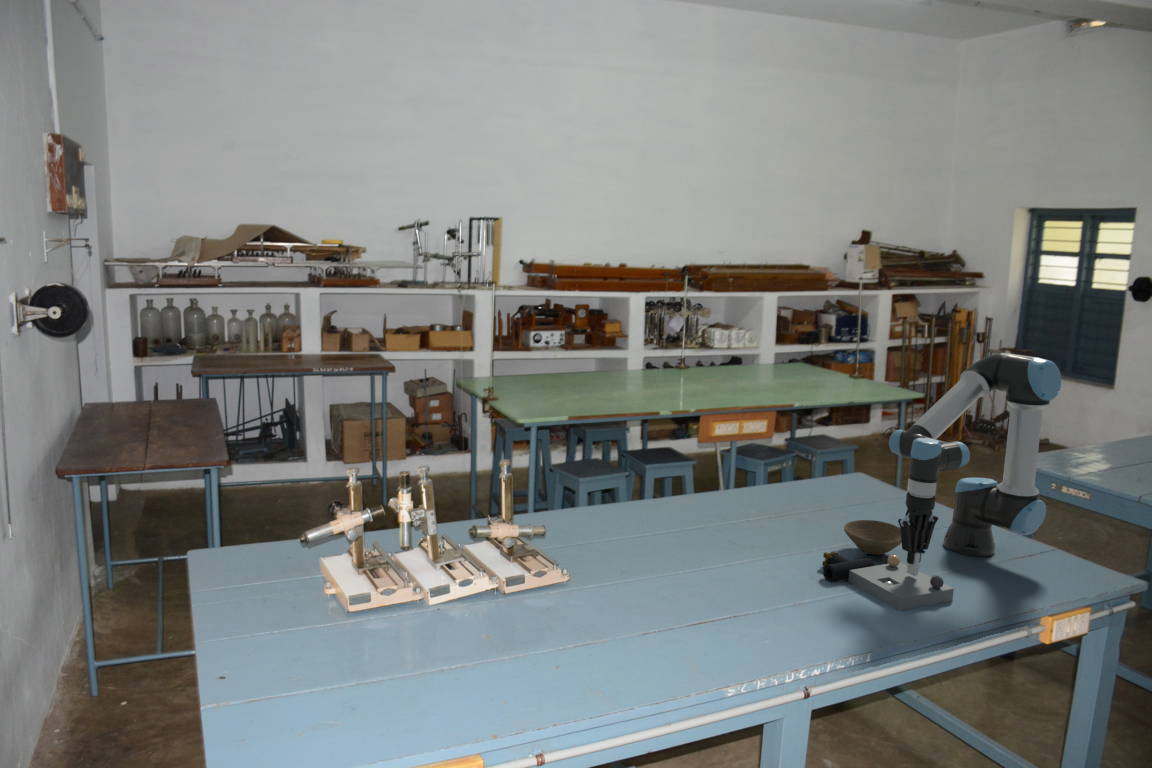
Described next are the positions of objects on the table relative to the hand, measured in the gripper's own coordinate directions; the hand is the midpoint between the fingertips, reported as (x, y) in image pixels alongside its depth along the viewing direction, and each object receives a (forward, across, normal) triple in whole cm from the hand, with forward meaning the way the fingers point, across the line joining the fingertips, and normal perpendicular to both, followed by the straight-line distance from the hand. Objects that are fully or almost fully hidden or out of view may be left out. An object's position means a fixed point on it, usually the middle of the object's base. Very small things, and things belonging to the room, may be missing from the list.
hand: (912, 573), depth 243 cm
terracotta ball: (+1, -1, -8) cm, 8 cm away
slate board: (+5, +4, 0) cm, 6 cm away
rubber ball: (+1, -1, +8) cm, 8 cm away
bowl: (+5, -9, -25) cm, 27 cm away
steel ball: (+4, +7, 0) cm, 8 cm away
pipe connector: (+5, +12, -16) cm, 20 cm away
